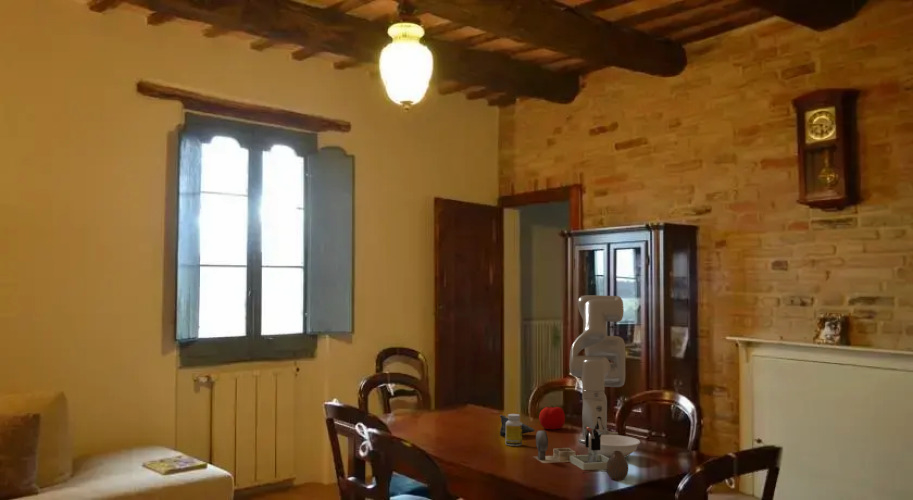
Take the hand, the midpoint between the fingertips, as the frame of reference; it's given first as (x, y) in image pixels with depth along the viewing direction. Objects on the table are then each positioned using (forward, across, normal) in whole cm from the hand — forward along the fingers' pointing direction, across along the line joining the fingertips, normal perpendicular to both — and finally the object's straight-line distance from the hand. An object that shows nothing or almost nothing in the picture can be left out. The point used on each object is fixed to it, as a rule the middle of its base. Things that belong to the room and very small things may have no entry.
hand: (592, 448), depth 268 cm
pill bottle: (+7, +41, +15) cm, 44 cm away
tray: (+7, 0, 0) cm, 7 cm away
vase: (+7, -15, -2) cm, 17 cm away
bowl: (+7, +14, -14) cm, 21 cm away
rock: (+7, +59, +8) cm, 60 cm away
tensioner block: (+7, +11, +9) cm, 16 cm away
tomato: (+7, +70, -12) cm, 71 cm away
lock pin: (+6, 0, 0) cm, 6 cm away
